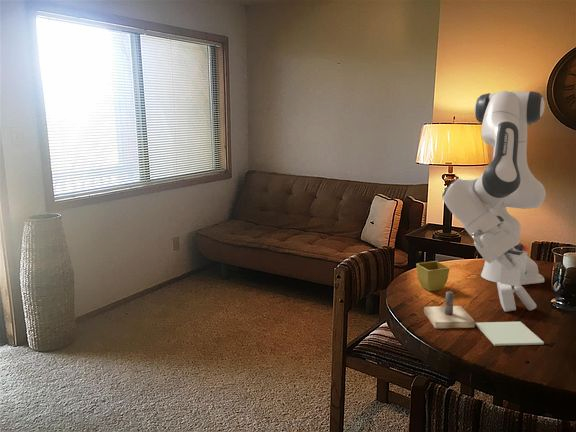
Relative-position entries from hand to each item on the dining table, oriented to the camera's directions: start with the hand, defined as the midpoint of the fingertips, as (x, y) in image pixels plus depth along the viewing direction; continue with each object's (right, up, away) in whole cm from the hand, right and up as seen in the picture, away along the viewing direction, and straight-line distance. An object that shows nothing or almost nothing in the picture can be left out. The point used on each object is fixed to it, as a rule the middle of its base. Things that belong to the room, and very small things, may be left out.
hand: (516, 266), depth 146 cm
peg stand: (-14, -18, +15) cm, 28 cm away
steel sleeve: (0, -5, +2) cm, 5 cm away
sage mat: (0, -20, +5) cm, 21 cm away
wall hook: (+10, -17, +23) cm, 30 cm away
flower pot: (-12, -13, +42) cm, 45 cm away
